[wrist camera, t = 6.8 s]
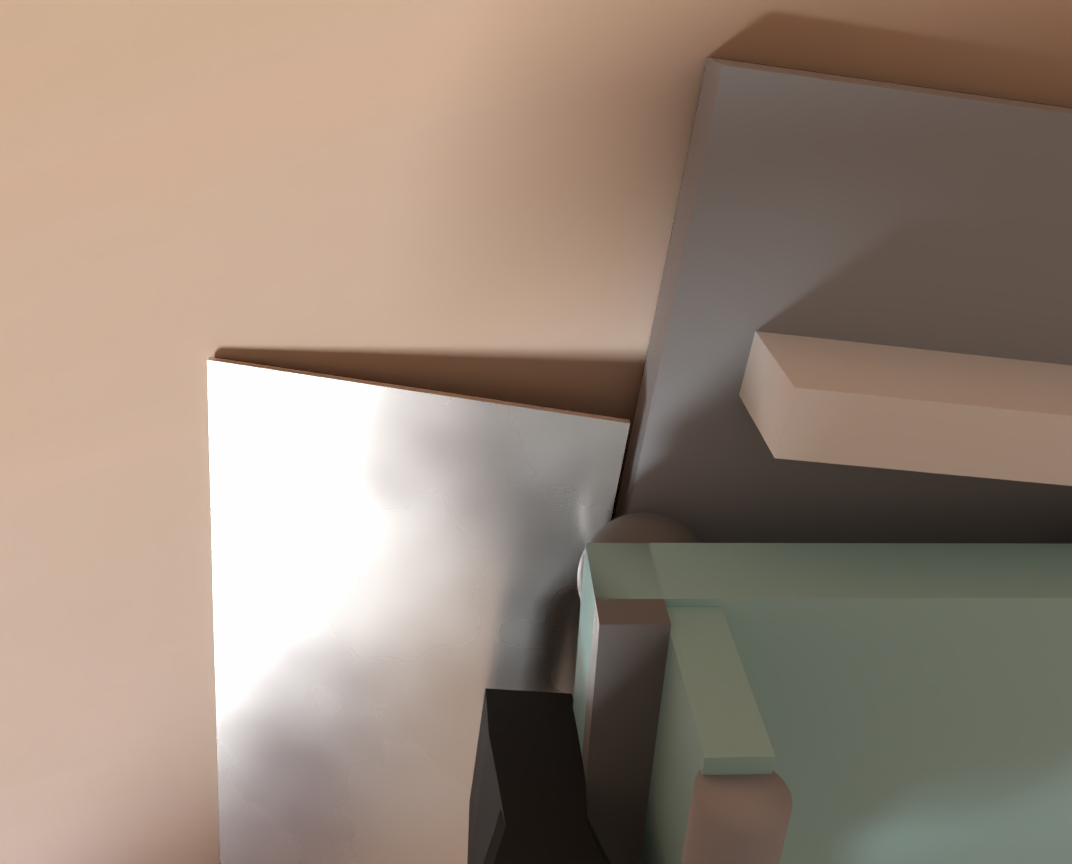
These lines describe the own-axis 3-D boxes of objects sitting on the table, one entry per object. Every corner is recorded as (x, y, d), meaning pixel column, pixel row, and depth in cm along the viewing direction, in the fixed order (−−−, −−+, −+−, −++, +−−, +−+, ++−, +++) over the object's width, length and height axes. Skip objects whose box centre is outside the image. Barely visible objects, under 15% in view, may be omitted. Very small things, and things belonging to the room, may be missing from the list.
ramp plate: (530, 916, 15) (529, 921, 15) (222, 869, 15) (220, 875, 15) (629, 420, 11) (629, 423, 11) (210, 356, 11) (206, 360, 11)
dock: (1013, 1039, 19) (1108, 1235, 16) (510, 1027, 18) (517, 1234, 15) (1540, 174, 11) (1903, 256, 8) (707, 57, 10) (798, 105, 7)
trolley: (1045, 864, 15) (1265, 1222, 11) (548, 875, 15) (578, 1256, 10) (1204, 490, 12) (1599, 793, 8) (574, 486, 12) (632, 810, 7)
